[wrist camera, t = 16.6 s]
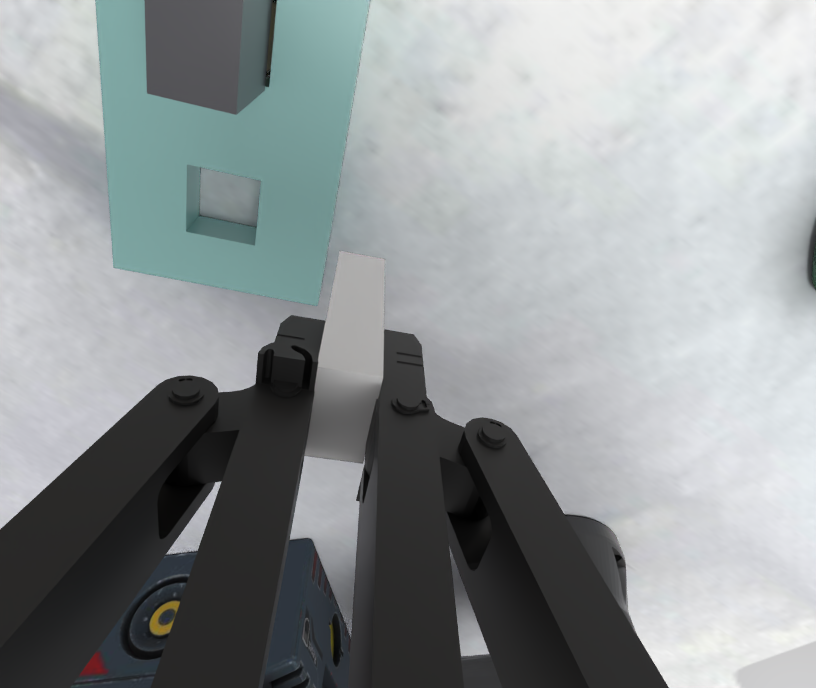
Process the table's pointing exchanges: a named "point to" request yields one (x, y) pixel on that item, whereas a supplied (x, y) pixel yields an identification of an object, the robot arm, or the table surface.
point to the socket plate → (232, 154)
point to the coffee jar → (814, 267)
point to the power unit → (290, 644)
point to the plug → (209, 51)
